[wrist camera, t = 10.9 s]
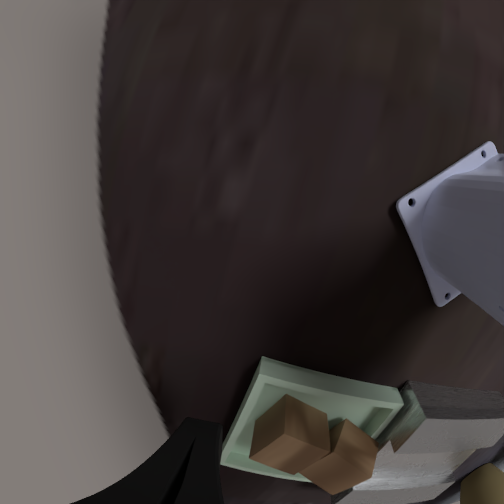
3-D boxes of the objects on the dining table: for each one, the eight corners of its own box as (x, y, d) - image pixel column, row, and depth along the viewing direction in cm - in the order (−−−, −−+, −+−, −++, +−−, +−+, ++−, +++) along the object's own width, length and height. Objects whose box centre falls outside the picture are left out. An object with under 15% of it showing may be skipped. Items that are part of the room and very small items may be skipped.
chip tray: (397, 387, 18) (404, 404, 16) (328, 469, 21) (330, 483, 19) (261, 356, 19) (259, 373, 17) (220, 447, 22) (216, 463, 20)
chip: (379, 443, 17) (371, 477, 13) (344, 463, 18) (332, 495, 15) (346, 418, 18) (333, 451, 15) (313, 440, 20) (296, 471, 16)
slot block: (498, 391, 17) (517, 416, 13) (425, 473, 21) (433, 499, 17) (407, 380, 18) (426, 418, 14) (329, 473, 22) (331, 507, 17)
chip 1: (331, 452, 15) (284, 433, 15) (293, 475, 16) (248, 458, 16) (326, 413, 19) (286, 393, 19) (294, 438, 20) (255, 420, 20)
